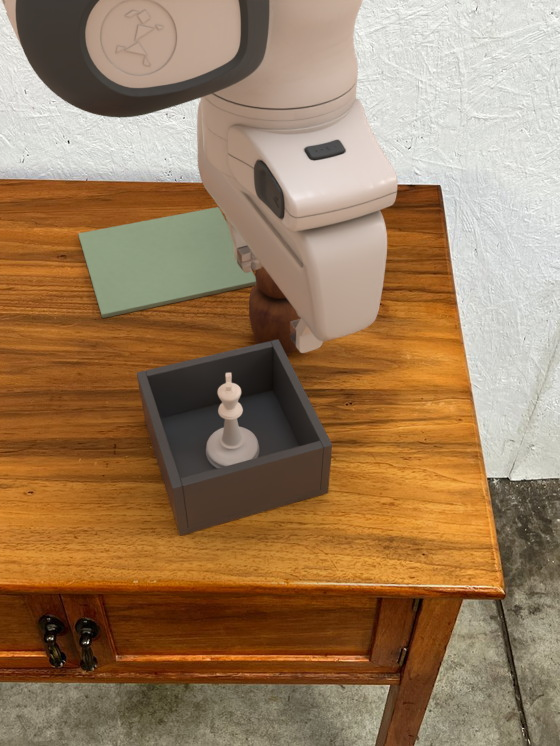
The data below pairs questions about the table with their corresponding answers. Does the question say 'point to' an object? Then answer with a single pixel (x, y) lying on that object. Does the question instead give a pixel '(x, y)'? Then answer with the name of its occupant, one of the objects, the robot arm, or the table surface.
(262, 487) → the tub
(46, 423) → the table surface
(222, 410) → the chess piece
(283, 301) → the wooden figurine
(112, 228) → the mat
